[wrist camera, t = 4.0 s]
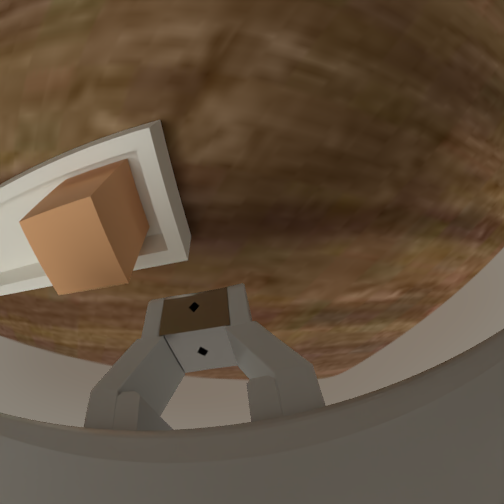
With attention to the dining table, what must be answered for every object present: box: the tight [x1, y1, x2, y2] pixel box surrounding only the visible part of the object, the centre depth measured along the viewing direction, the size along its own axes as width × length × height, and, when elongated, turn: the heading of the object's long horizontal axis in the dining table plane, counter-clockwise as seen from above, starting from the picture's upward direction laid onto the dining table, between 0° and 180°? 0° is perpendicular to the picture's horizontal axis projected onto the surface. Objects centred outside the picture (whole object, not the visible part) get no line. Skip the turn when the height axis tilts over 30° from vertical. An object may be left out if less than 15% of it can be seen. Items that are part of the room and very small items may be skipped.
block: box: [19, 159, 150, 295], centre depth 15 cm, size 5×5×6 cm
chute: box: [0, 120, 191, 296], centre depth 17 cm, size 20×8×3 cm, turn 98°
